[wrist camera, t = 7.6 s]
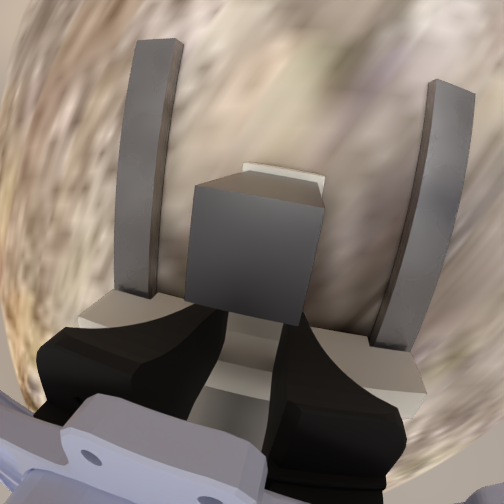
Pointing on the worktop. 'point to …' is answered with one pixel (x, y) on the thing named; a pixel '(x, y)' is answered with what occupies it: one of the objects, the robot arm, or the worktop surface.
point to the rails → (416, 225)
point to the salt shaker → (232, 414)
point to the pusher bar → (262, 285)
